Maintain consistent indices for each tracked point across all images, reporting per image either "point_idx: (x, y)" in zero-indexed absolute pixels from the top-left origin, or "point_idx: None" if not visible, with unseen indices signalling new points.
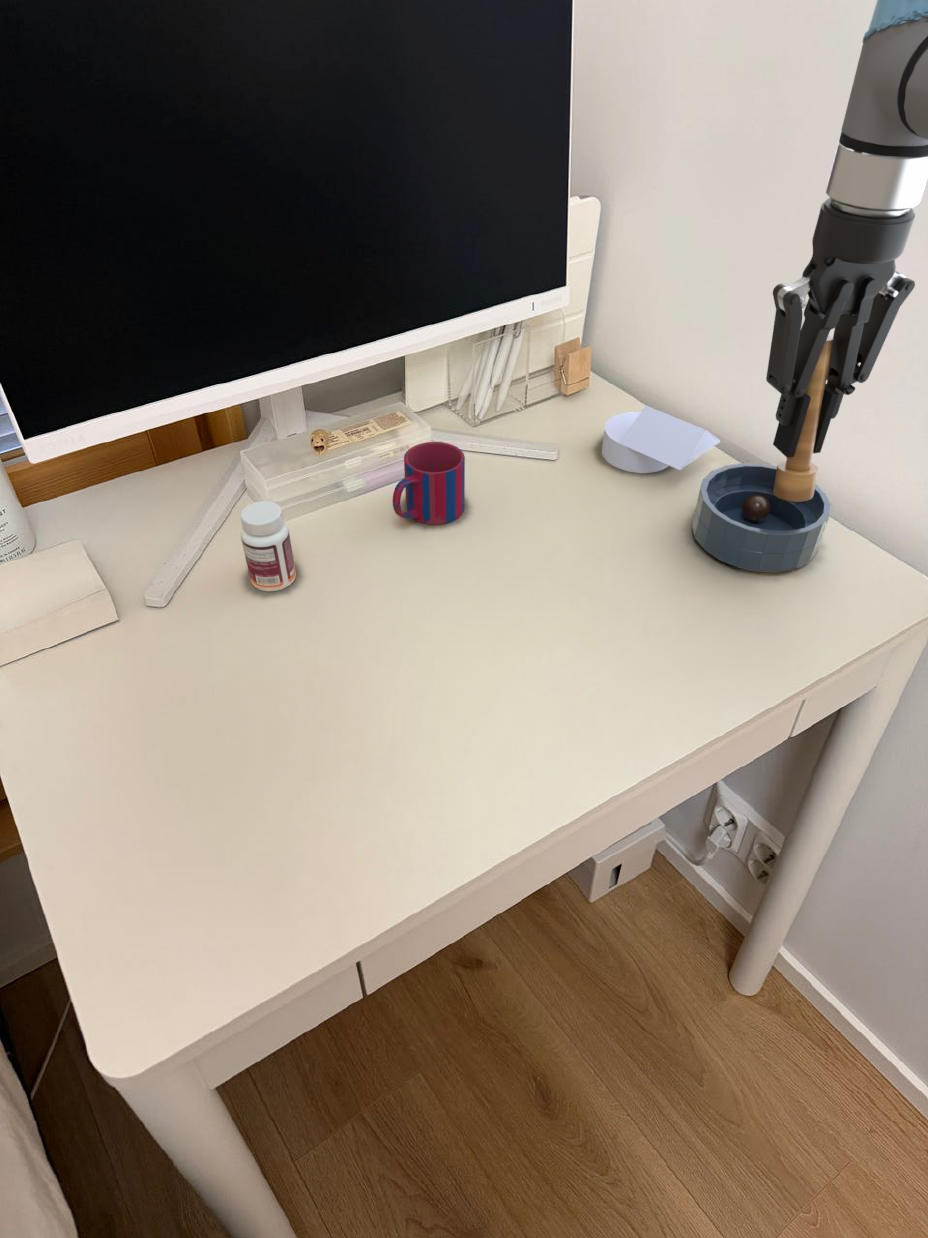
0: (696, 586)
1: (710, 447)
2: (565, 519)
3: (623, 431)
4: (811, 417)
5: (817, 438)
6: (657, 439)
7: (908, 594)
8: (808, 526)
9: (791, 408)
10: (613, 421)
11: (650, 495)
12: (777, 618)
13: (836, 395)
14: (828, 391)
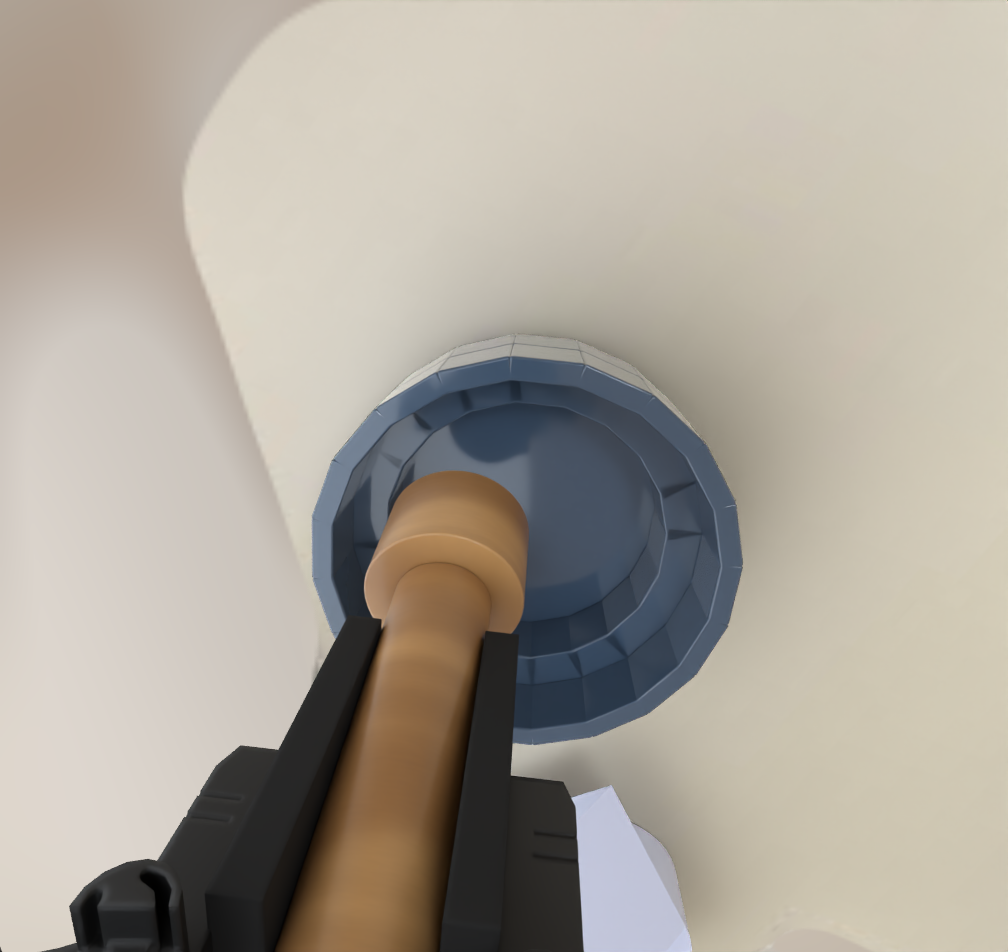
0: (815, 385)
1: None
2: (934, 739)
3: None
4: (409, 780)
5: (361, 670)
6: (614, 907)
7: (246, 114)
8: (490, 379)
9: (542, 877)
10: None
11: (664, 743)
12: (699, 168)
13: (229, 883)
14: (263, 935)
